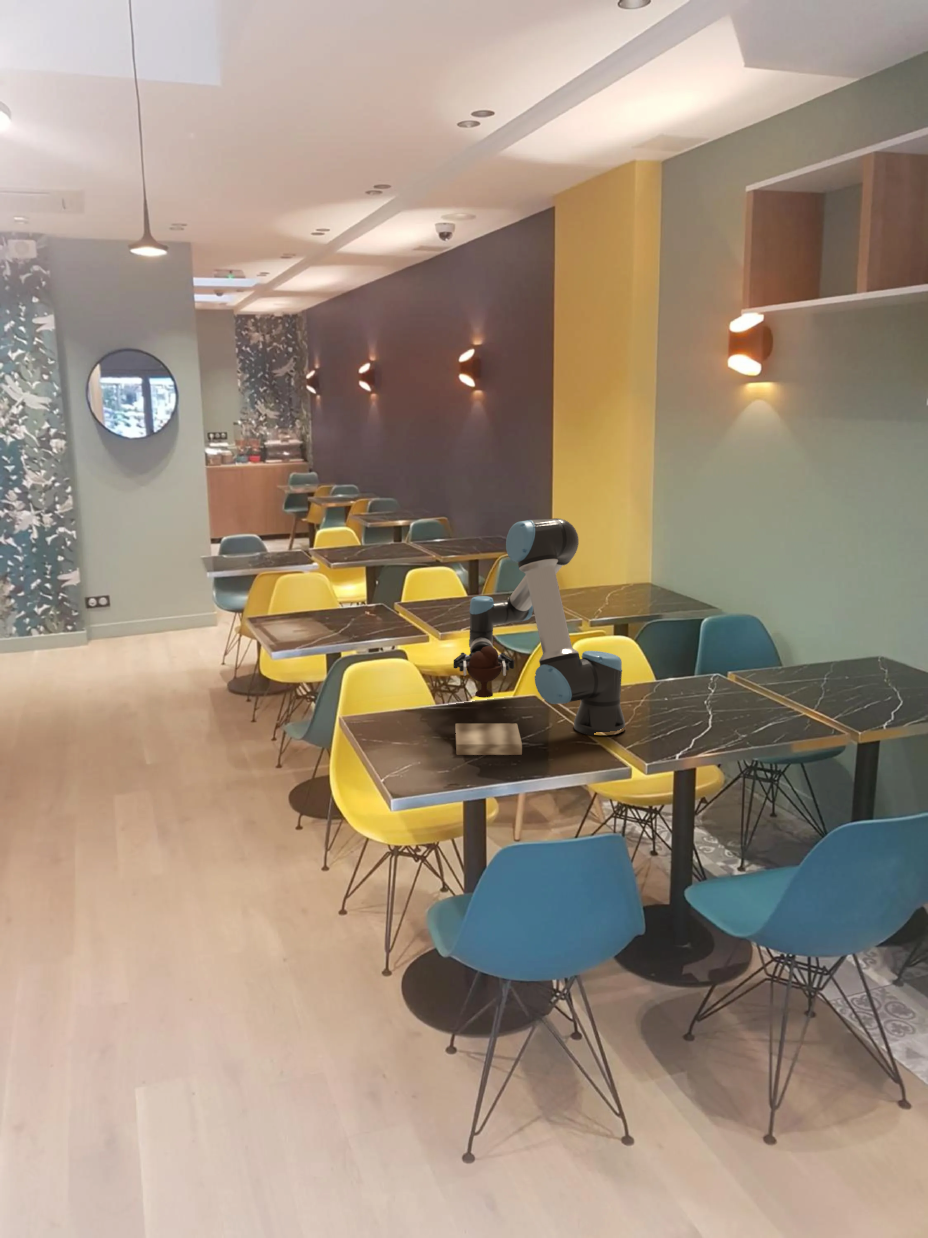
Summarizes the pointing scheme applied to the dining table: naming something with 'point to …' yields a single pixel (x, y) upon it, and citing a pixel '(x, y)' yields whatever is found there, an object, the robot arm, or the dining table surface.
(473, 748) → the maple stand board
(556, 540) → the robot arm
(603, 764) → the dining table surface
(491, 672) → the ice cream bowl
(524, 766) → the dining table surface
